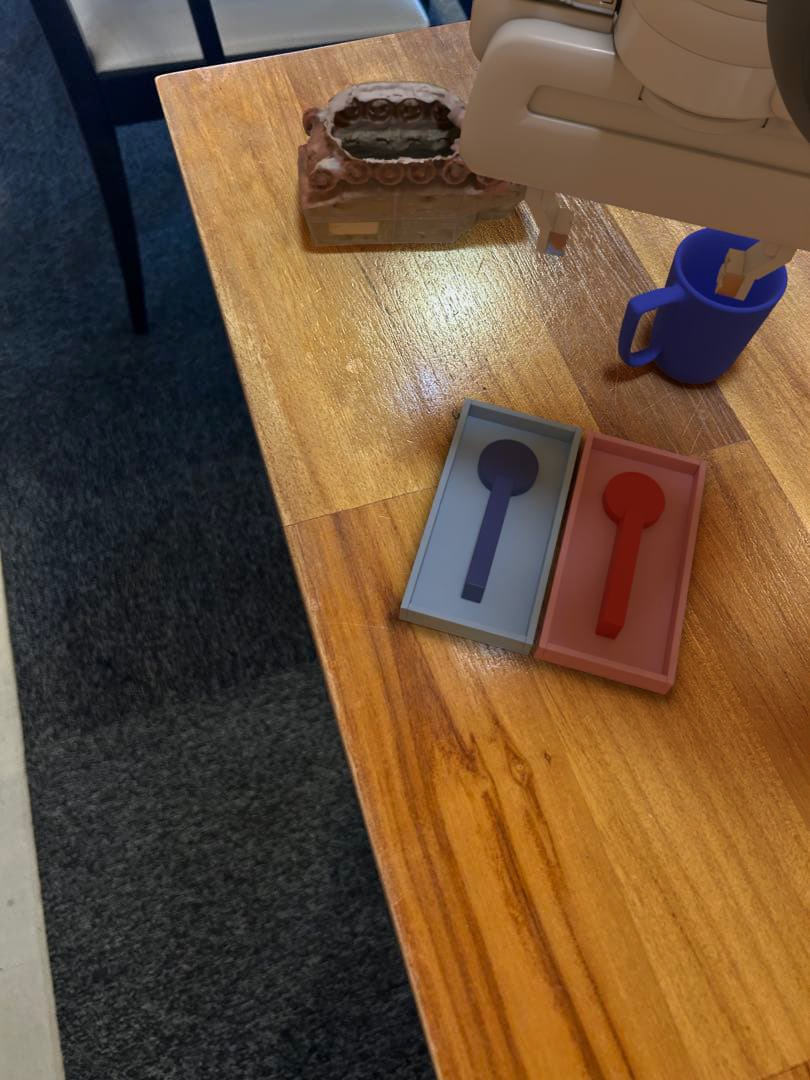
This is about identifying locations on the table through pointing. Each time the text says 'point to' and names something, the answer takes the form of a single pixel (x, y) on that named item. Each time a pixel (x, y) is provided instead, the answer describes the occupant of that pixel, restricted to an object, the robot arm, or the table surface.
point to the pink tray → (658, 578)
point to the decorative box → (393, 168)
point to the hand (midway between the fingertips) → (639, 267)
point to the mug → (700, 312)
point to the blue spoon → (497, 503)
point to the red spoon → (626, 542)
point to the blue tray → (522, 539)
